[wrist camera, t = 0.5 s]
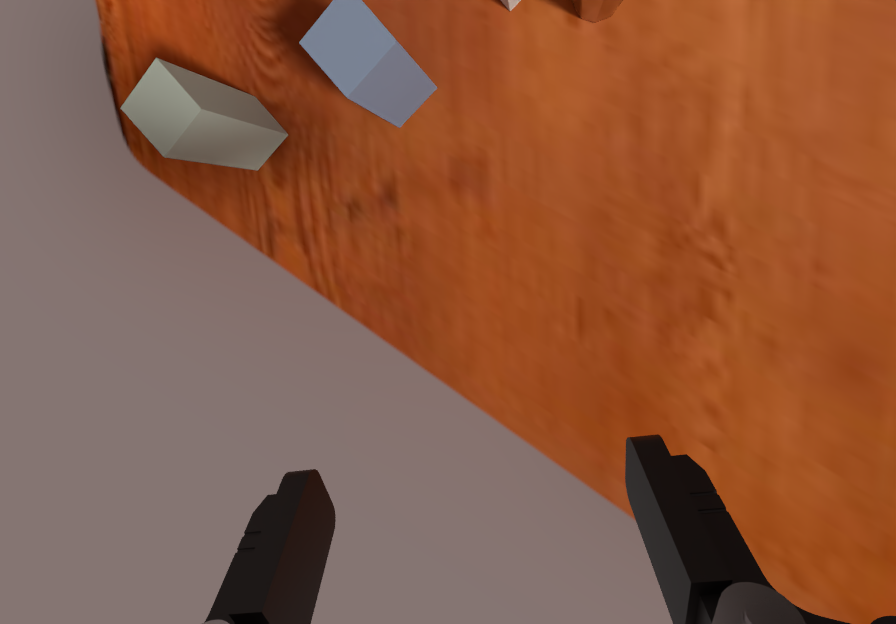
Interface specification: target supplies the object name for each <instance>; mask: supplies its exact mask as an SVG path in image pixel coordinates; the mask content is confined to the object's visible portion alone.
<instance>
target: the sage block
mask: <svg viewBox="0 0 896 624" xmlns="http://www.w3.org/2000/svg"><path fill="white" fill-rule="evenodd" d="M121 109H122V111H123V112H124V113H125V114H126V115H127V116H128V117H129V118H130V120H131V121H132V122H133V123H134V124H135V125H136V126H137V127H138V129H139V130H140V131H141V132H142V133H143V134H144V135H145V136H146V138H147V139H148V140H149V141H150V142H151V143H152V144H153V145H154V147H155V148H156V149H157V150H158V151H159V152H160V153H161V154H162V156H163V157H165V158H172V159H179V160H186V161H193V162H200V163H208V164H215V165H222V166H229V167H236V168H244V169H251V170H259V169H260V167H261V166H262V165H263V164H264V163H265V162H266V160H267V159H268V158H269V157H270V156H271V155H272V153H273V152H274V151H275V150H276V149H277V148H278V147H279V145H280V144H281V143H282V142H283V141H284V140H285V138H286V137H287V136H288V134H287V132H286V131H285V130H284V129H283V128H282V127H281V126H280V124H279V123H278V122H277V121H276V120H275V119H274V118H273V116H272V115H271V114H270V113H269V112H268V111H267V110H266V108H265V107H264V106H263V105H262V104H261V103H260V102H259V101H258V99H257V98H256V97H255V96H252V95H250V94H247V93H245V92H242V91H240V90H237V89H235V88H232V87H230V86H227V85H225V84H222V83H219V82H217V81H214V80H212V79H209V78H207V77H204V76H202V75H199V74H197V73H194V72H192V71H189V70H186V69H184V68H181V67H179V66H176V65H174V64H171V63H169V62H166V61H164V60H161V59H158V58H156V59H155V60H154V61H153V63H152V64H151V66H150V67H149V68H148V70H147V71H146V73H145V74H144V75H143V77H142V78H141V80H140V81H139V83H138V84H137V85H136V87H135V88H134V90H133V91H132V92H131V94H130V95H129V97H128V98H127V99H126V101H125V102H124V104H123V105H122V106H121Z"/></svg>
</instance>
